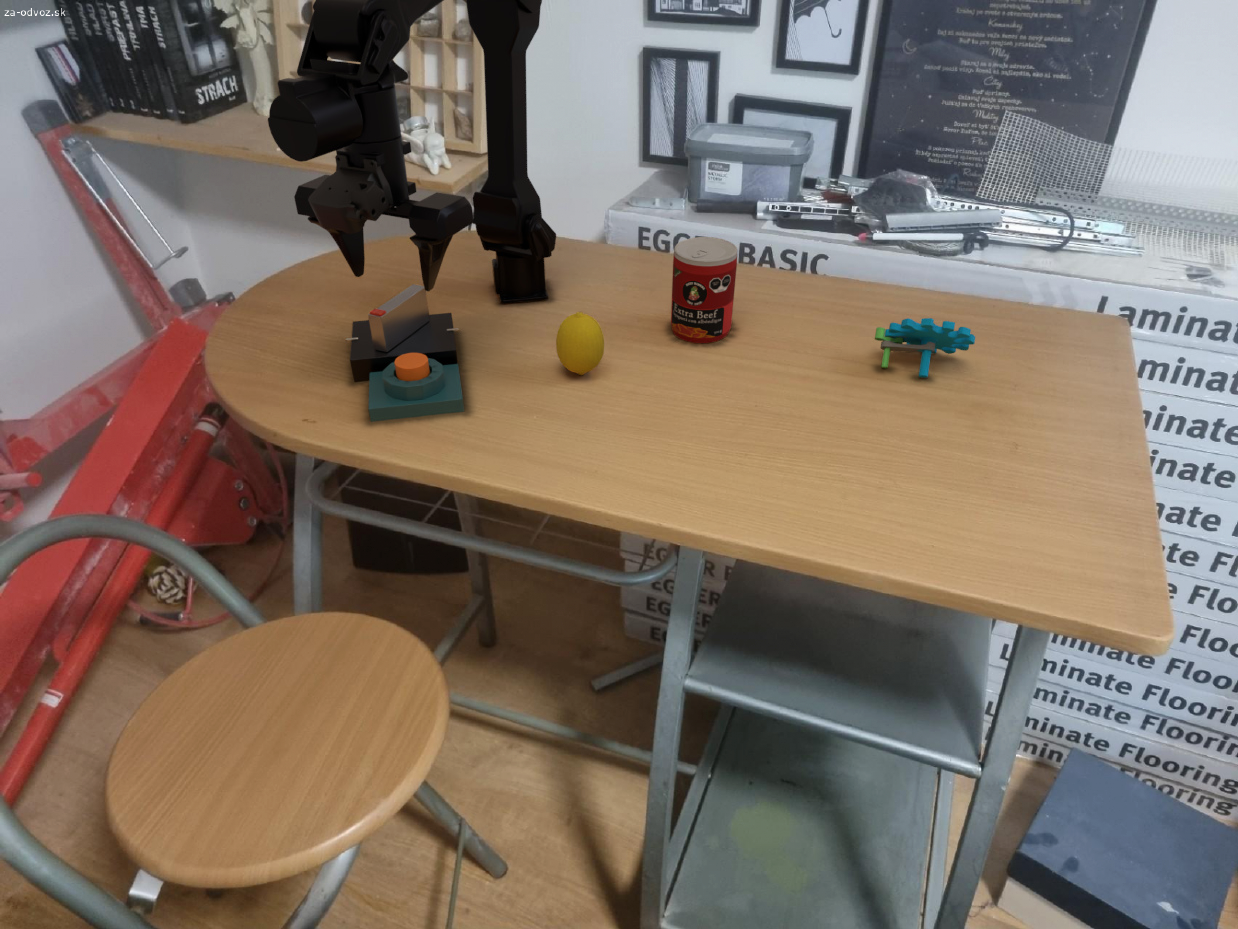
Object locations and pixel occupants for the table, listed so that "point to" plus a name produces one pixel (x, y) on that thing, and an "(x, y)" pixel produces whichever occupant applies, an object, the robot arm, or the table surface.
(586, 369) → the lemon
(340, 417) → the table surface
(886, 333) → the gear
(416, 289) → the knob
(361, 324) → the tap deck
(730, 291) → the canned food
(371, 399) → the control block
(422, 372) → the button
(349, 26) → the robot arm
